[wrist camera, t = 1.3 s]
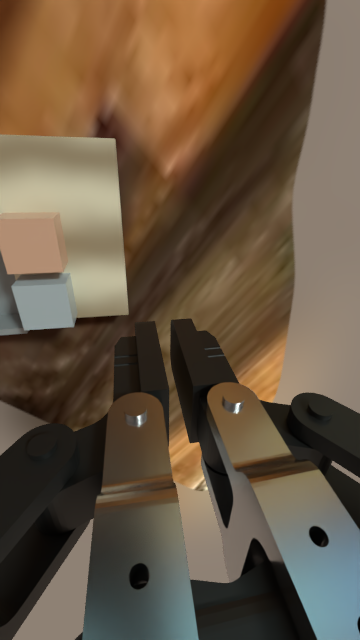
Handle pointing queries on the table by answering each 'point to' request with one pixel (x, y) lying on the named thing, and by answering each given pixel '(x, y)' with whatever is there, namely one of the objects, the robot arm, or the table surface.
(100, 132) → the table surface
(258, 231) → the table surface
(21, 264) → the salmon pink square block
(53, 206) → the board
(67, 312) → the blue gray block
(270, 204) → the table surface
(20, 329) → the tray
